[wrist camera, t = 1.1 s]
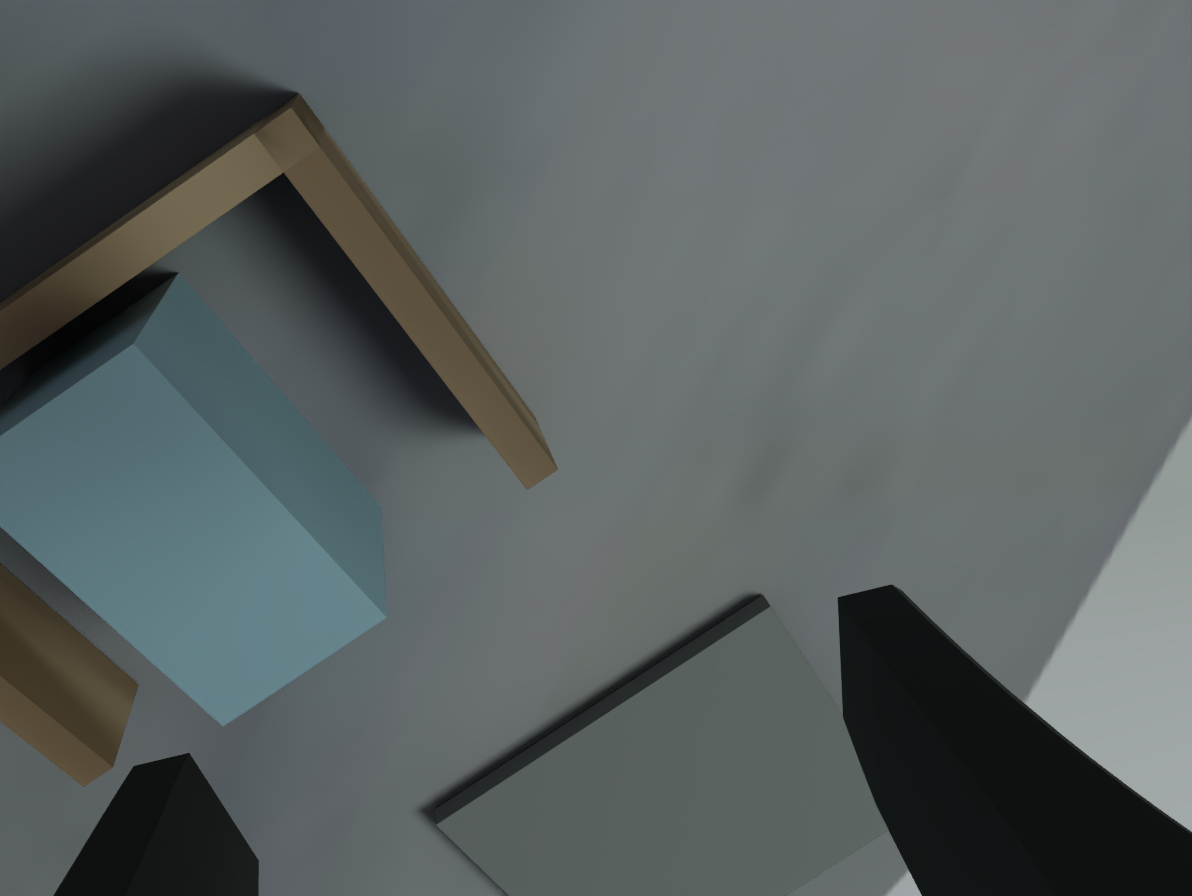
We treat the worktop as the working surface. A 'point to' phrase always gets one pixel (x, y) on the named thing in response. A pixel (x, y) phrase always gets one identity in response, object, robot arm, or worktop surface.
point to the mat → (680, 781)
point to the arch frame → (121, 251)
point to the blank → (191, 503)
